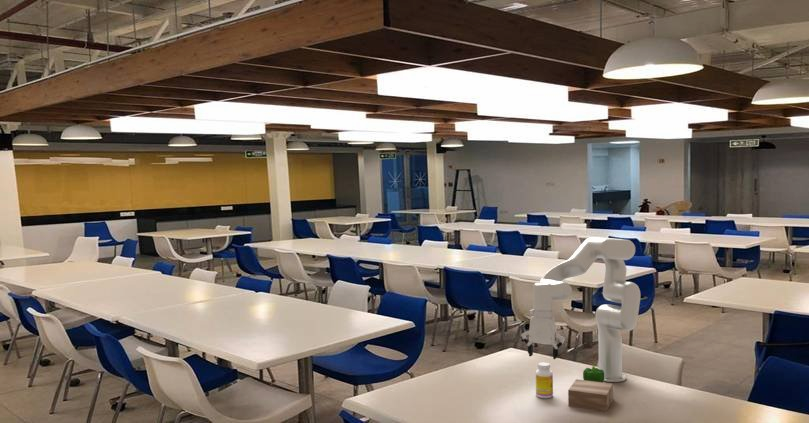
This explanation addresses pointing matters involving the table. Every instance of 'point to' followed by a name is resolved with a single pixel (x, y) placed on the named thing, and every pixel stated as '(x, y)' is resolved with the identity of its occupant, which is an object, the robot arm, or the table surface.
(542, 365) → the supplement bottle
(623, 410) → the table surface
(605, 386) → the walnut block
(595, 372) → the bell pepper
